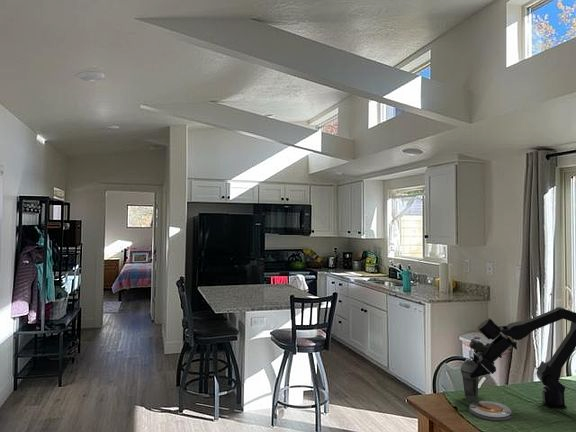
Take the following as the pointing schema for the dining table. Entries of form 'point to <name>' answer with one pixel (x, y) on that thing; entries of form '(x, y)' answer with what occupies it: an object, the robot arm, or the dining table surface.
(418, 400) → the dining table surface
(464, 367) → the beverage cup
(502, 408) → the disc
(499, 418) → the base
